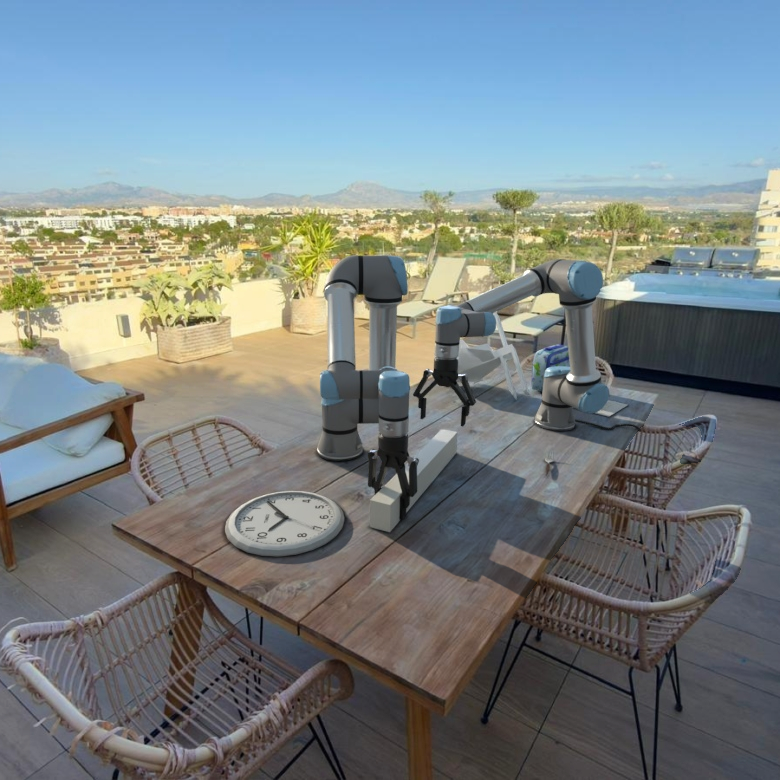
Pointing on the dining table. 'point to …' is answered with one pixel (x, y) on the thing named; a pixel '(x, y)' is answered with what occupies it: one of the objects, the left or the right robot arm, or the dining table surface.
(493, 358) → the white plastic object
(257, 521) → the wall clock
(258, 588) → the dining table surface
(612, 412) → the invitation card
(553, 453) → the fork
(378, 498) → the beam
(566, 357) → the lunch box
